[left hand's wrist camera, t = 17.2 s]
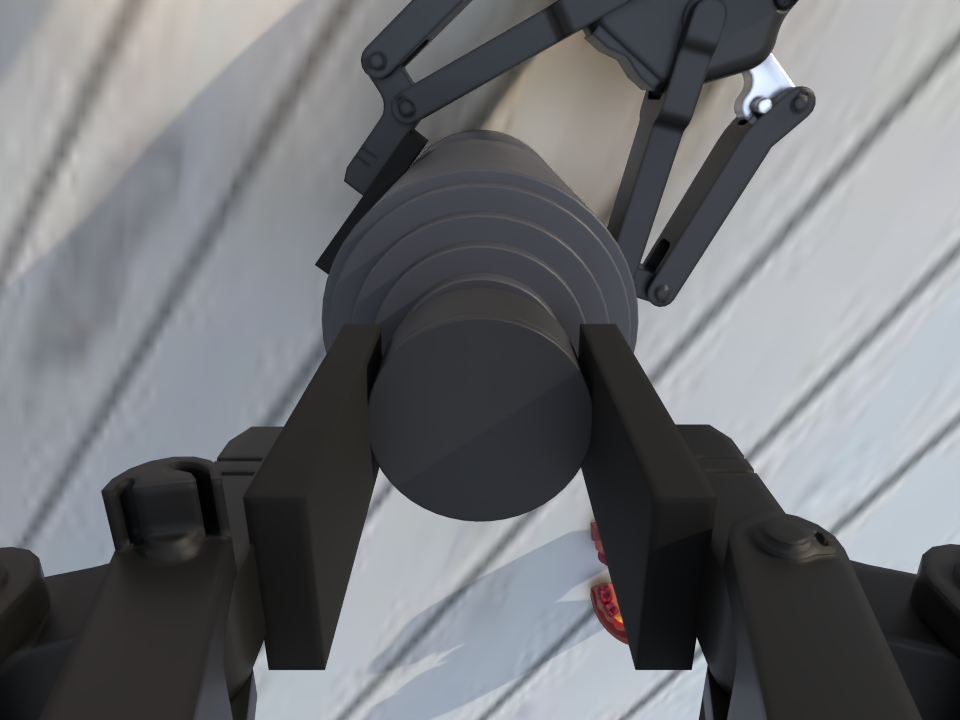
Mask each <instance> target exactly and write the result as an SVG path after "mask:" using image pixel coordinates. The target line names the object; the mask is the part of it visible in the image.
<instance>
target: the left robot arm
mask: <svg viewBox="0 0 960 720" xmlns="http://www.w3.org/2000/svg"><path fill="white" fill-rule="evenodd" d="M578 360H579V362H580V365H581V368H582V371H583V373H584V376H585V379H586V381H587V384H588V387H589V390H590V394H591V397H592V401H593V408H592V424H591V438H590V448H589V451H588V454H587V456H586V458H585V460H584V462H583V464H582V466H581V469H582V472H583V476H584V480H585V484H586V487H587V491H588V495H589V499H590V502H591V506H592V510H593V513H594V517H595V521H596V525H597V528H598V532H599V536H600V539H601V543H602V547H603V551H604V554H605V558H606V562H607V566H608V569H609V573H610V577H611V580H612V584H613V588H614V592H615V595H616V599H617V603H618V607H619V610H620V614H621V618H622V621H623V625H624V629H625V633H626V636H627V640H628V644H629V647H630V651H631V655H632V659H633V662H634V666H635V670H692V664H693V658H694V651H695V644H696V638H697V639H698V641H699V644H700V646H701V649H702V651H703V654H704V656H705V659H706V661H707V664H708V666H707V673H706V679H705V685H704V691H703V697H702V703H701V710H700V716H699V720H960V545H955V544H948V545H942V546H936V547H932V548H931V549H929V550H928V551H927V552H926V553H924V554H923V555H922V558H921V562H920V565H919V569H918V572H917V574H912V573H907V572H902V571H897V570H892V569H887V568H882V567H877V566H872V565H867V564H863V563H859V562H856V561H852V560H849V558H848V556H847V553H846V551H845V549H844V548H843V547H842V545H841V544H840V543H839V541H838V540H837V539H836V538H835V536H833V535H832V534H831V533H829V532H828V531H826V530H825V529H823V528H822V527H820V526H819V525H817V524H815V523H812V522H810V521H808V520H805V519H803V518H800V517H798V516H794V515H789V514H786V513H785V512H784V511H783V509H782V508H781V506H780V505H779V504H778V502H777V501H776V500H775V498H774V497H773V495H772V494H771V493H770V491H769V490H768V489H767V487H766V486H765V484H764V483H763V482H762V480H761V479H760V477H759V476H758V475H757V473H754V469H753V468H752V466H751V465H750V464H749V462H748V461H747V460H746V459H744V455H743V454H742V453H741V451H740V450H739V449H738V447H737V446H736V444H735V443H734V442H733V440H732V439H731V438H729V437H728V436H726V435H725V434H723V433H721V432H720V431H718V430H717V429H715V428H714V427H712V426H710V425H675V423H674V422H673V420H672V418H671V417H670V415H669V413H668V411H667V410H666V408H665V406H664V405H663V403H662V401H661V400H660V398H659V396H658V394H657V393H656V391H655V389H654V388H653V386H652V384H651V382H650V381H649V379H648V377H647V376H646V374H645V372H644V371H643V369H642V367H641V365H640V364H639V362H638V360H637V359H636V357H635V355H634V354H633V352H632V350H631V348H630V347H629V345H628V343H627V342H626V340H625V338H624V336H623V335H622V333H621V331H620V330H619V328H618V326H617V325H616V324H580V332H579V350H578ZM381 361H382V342H381V324H344V325H343V327H342V329H341V330H340V332H339V334H338V336H337V337H336V339H335V341H334V342H333V344H332V346H331V348H330V349H329V351H328V353H327V354H326V356H325V358H324V359H323V361H322V363H321V365H320V366H319V368H318V370H317V371H316V373H315V375H314V376H313V378H312V380H311V382H310V383H309V385H308V387H307V388H306V390H305V392H304V394H303V395H302V397H301V399H300V400H299V402H298V404H297V405H296V407H295V409H294V411H293V412H292V414H291V416H290V417H289V419H288V421H287V422H286V424H285V426H284V427H251V428H249V429H247V430H246V431H244V432H243V433H241V434H240V435H238V436H237V437H235V438H233V439H232V440H230V441H229V442H228V444H227V445H226V446H225V448H224V449H223V451H222V452H221V453H220V455H219V456H218V458H217V461H215V462H214V463H213V462H212V461H211V460H206V459H202V458H198V457H170V458H165V459H160V460H154V461H150V462H147V463H144V464H142V465H139V466H136V467H133V468H130V469H128V470H127V471H125V472H123V473H122V474H120V475H118V476H117V477H115V478H113V479H112V480H111V481H110V482H109V483H108V484H107V485H106V486H105V487H104V489H103V490H102V491H101V492H102V496H103V500H104V504H105V509H106V513H107V517H108V521H109V525H110V529H111V534H112V538H113V542H114V546H115V552H114V555H113V557H112V559H111V561H110V563H109V564H105V565H101V566H97V567H93V568H88V569H83V570H78V571H73V572H68V573H63V574H58V575H53V576H48V577H44V574H43V570H42V567H41V563H40V560H39V558H38V557H37V556H36V555H35V554H33V553H32V552H31V551H30V550H26V549H20V548H14V547H6V548H0V720H255V711H256V702H257V692H256V685H255V679H254V673H253V666H254V664H255V661H256V659H257V656H258V653H259V651H260V648H261V646H262V643H263V641H265V648H266V655H267V661H268V668H269V670H325V668H326V664H327V660H328V657H329V653H330V649H331V645H332V642H333V638H334V634H335V631H336V627H337V623H338V619H339V616H340V612H341V608H342V604H343V601H344V597H345V593H346V590H347V586H348V582H349V578H350V575H351V571H352V567H353V563H354V560H355V556H356V552H357V549H358V545H359V541H360V537H361V534H362V530H363V526H364V523H365V519H366V515H367V511H368V508H369V504H370V500H371V496H372V493H373V489H374V485H375V482H376V478H377V474H378V470H379V465H378V463H377V462H376V460H375V457H374V455H373V452H372V450H371V445H370V431H369V417H368V399H369V394H370V391H371V389H372V386H373V383H374V380H375V377H376V375H377V372H378V369H379V366H380V364H381Z"/></svg>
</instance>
